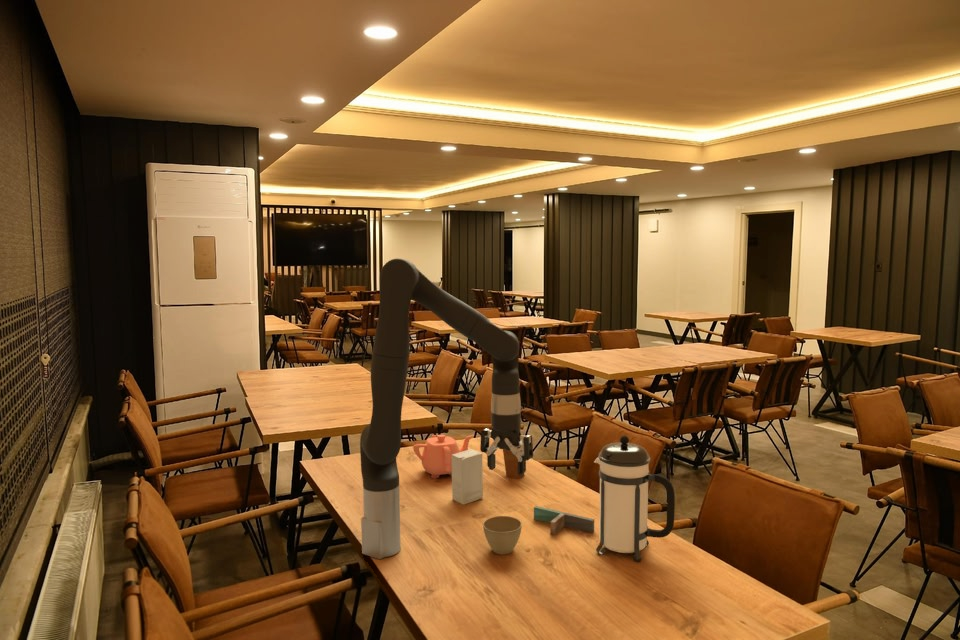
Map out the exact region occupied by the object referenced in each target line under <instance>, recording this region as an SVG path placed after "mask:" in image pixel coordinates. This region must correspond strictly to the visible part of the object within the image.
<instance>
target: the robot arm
mask: <svg viewBox="0 0 960 640" xmlns="http://www.w3.org/2000/svg"><path fill="white" fill-rule="evenodd" d="M412 301H414V302H416V303H417V304H419V305H420V306H423V307H424V308H426V309H428V310H429V311H430V312H431V313H433V315H436V316H437V317H438V318H439V319H440V320H442V322H444V323H445V324H447V325H448V326H449V327H450V328H451V329H453V330H455V331H456V332H458V333H459V334H461V335H462V336H464V337H465V338H467V339H468V340H470V341H472V342H474V343H476V345H478V347H480V348H481V349H483V350H484V351H485V352H486V354H489V355H490V356H491V359H492V374H491V399H490V417H491V418H490V421H491V422H490V423H491V429H490V428H489V427H487V428H484V429H482V430H481V431H480V449H479V451H480V453H484V454H486V457H487V459H486V461H487V463H486V464H487V467H488V469H489V470H491V471H493V470H495V469H496V466H497V465H496V463H497V462H496V454H495V453H496V452H497V450H498V449H499V450H503V449H506V450H509V451H510V450H511V451H512V453H513V454H514V455H516V457H517V459H518V460H519V461H518V475H519V476H521V475H523V474H524V475H525V473H526V471H527V461H529V460H530V459H532V458H533V457H534V447H533V446H534V445H533V444H534V443H533V435H531V434H528V435H523V434H522V433H521V426H522V421H521V420H522V413H521V412H522V411H521V410H522V406H521V405H522V403H521V401H522V400H521V394H520V391H521V390H520V374H519V358H520V357H519V356H520V355H519V354H520V341H519V339H518V337H517V335H516V333H513V332H512V331H510V330H504V329H502V328H501V327H498V326H497V325H496V324H494V323H493V322H491V320H490V319H489V318H488V317H487V316H486V315H484V314H482V313H481V312H479V311H478V310H477V309H475V308H473V307H472V306H470V305H469V304H467V303H465V302H464V301H462V300H460V299H458V298H457V297H455V296H453V295H451V294H450V293H448V292H447V291H445V290H444V289H443V288H441V287H439V286H438V285H437V284H435V283H434V282H433V281H432V280H430V279H429V278H428V277H426V275H424V274H423V273H422V271H420V270H419V269H418V268H417V267H416V265H415V264H414V263H413V262H411V261H410V260H408V259H404V258H397V257H396V258H393V259H390V260H389V261H387V262H386V263H384V264H383V266H382V267H381V270H380V274H379V306H378V308H379V309H378V310H379V311H378V319H377V324H376V328H375V334H374V339H373V340H374V342H373V346H372V354H371V363H370V385H371V387H370V388H371V399H372V401H371V402H372V410H371V418H370V423H368V424H367V425H366V426H365V427H364V428H363V430H362V432H361V435H360V439H359V449H360V450H359V453H360V455H359V456H360V470H361V478H362V492H363V493H362V495H363V498H362V499H363V517H361V519H360V523H361V525H360V526H361V527H360V528H361V551H362V552H361V554H362V555H364V556H369V557H372V558H375V559H378V560H381V559H383V558H388V557H392V556H394V555H396V554H398V553H399V552H400V551H401V547H402V546H401V545H402V544H401V543H402V542H401V509H400V508H401V507H400V505H401V504H400V499H401V498H400V497H401V496H400V492H401V491H400V473H399V469H398V464H397V462H398V461H397V457H398V455H399V453H400V451H401V447H402V411H403V410H402V408H403V403H404V398H405V392H406V385H407V384H406V383H407V377H408V372H409V371H408V369H409V363H410V350H411V349H410V348H411V347H410V344H411V343H410V342H411V341H410V328H409V327H410V326H409V315H410V308H411V304H412V303H411V302H412ZM490 438H492V440H493V442H492V443H491V444H490ZM521 440H522V444H524V451H523V447H522V445H521V444H520V441H521ZM515 447H517V449H516V448H515Z"/></svg>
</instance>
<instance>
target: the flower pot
mask: <svg viewBox="0 0 960 640" xmlns="http://www.w3.org/2000/svg"><path fill="white" fill-rule="evenodd" d="M522 527H523V523H522V521H521V520H520V519H518V518H516V517H514V516H511V515H495V516H492V517H488V518H487V519H485V520H484V521H483V522H482V528H483V533H484V536H485V539H486V542H487V544H488V546H489V547H490V549H491V550H492V551H493V553H495V554H498V555H509V554H511V553H513V550H514V549H515V548H516V546H517V544H518V542H519V539H520V536H521V533H522Z"/></svg>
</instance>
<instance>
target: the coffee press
mask: <svg viewBox="0 0 960 640" xmlns="http://www.w3.org/2000/svg"><path fill="white" fill-rule="evenodd" d="M650 462H651V456H650V454H649V453H648V450H646V449H645V447H643V446H641V445H639V444H637V443H632V442H630V438H629V437H628V436H627V435H622V436H620V438H619V441H617V442H610V443H608V444H606V445H604V446H602V449H601V450H600V451H599V453H598V457H596V459H595V460H594V461H593V463H594V464H598V465H599V468H598V477H599V518H598V519H599V521H598V522H599V525H598V526H599V527H598V528H599V531H598V532H599V533H598V534H599V535H598V536H599V537H598V538H599V544H598V546H597V547H596V550H595V551H596V553H598V554H599V555H600V556H601V555H604V553H605V552H606V551H608V550H610V551H613V552H617V553H620V554H621V553H622V554H630V555H632V558H633V560H634V562H641V561H642V555H641V552H640V551H642V550H643V549H644V548H645V547H648V545H649V544H650V541H649V540H648V537H650V538H659V539H660V538H665V537H667V536H669V535H670V534H671V533H672V530H673V528H674V525H675V511H676V510H675V508H676V507H675V506H676V505H675V504H676V502H675V501H676V500H675V499H676V495H675V489H674V486H673V484H672V482H671V481H670V479H669V478H667V477H666V476H664V475H662V474H658V473H656V474H653V473H650V470H649V464H650ZM649 481H652V482H653V481H654V482H655V483H659V484H661V485H663V487H664V489H665V492H666V496H667V497H666V525H665V527H663V529H654V528H653V529H652V528H649V525H648V512H649V507H648V506H649V504H648V503H649Z"/></svg>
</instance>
